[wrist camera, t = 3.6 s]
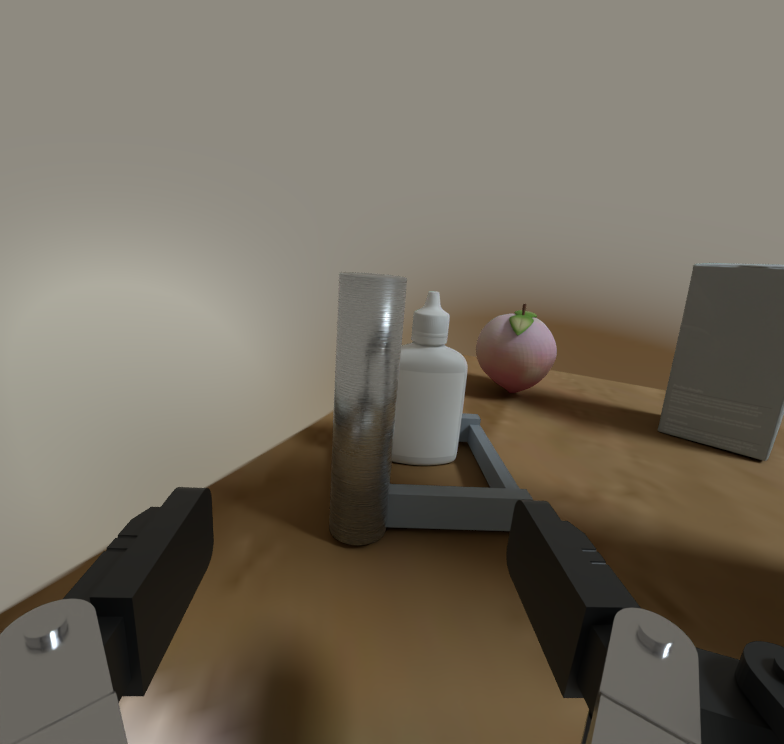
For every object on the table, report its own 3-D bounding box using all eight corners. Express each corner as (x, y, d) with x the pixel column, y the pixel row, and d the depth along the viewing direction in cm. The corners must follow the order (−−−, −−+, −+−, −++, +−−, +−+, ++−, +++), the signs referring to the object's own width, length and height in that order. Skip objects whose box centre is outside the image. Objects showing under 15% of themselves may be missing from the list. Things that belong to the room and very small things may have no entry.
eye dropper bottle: (443, 479, 28) (465, 299, 25) (369, 456, 31) (381, 288, 27) (462, 453, 32) (483, 294, 29) (395, 435, 35) (408, 285, 31)
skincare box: (773, 444, 39) (836, 267, 34) (764, 468, 34) (837, 264, 30) (668, 415, 45) (711, 259, 40) (648, 431, 40) (694, 256, 35)
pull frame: (474, 437, 35) (497, 274, 31) (537, 550, 22) (589, 293, 18) (342, 430, 34) (350, 263, 30) (326, 544, 21) (337, 275, 17)
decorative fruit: (472, 376, 53) (483, 296, 50) (541, 386, 51) (556, 303, 49) (468, 400, 44) (481, 304, 41) (550, 412, 42) (570, 313, 40)
